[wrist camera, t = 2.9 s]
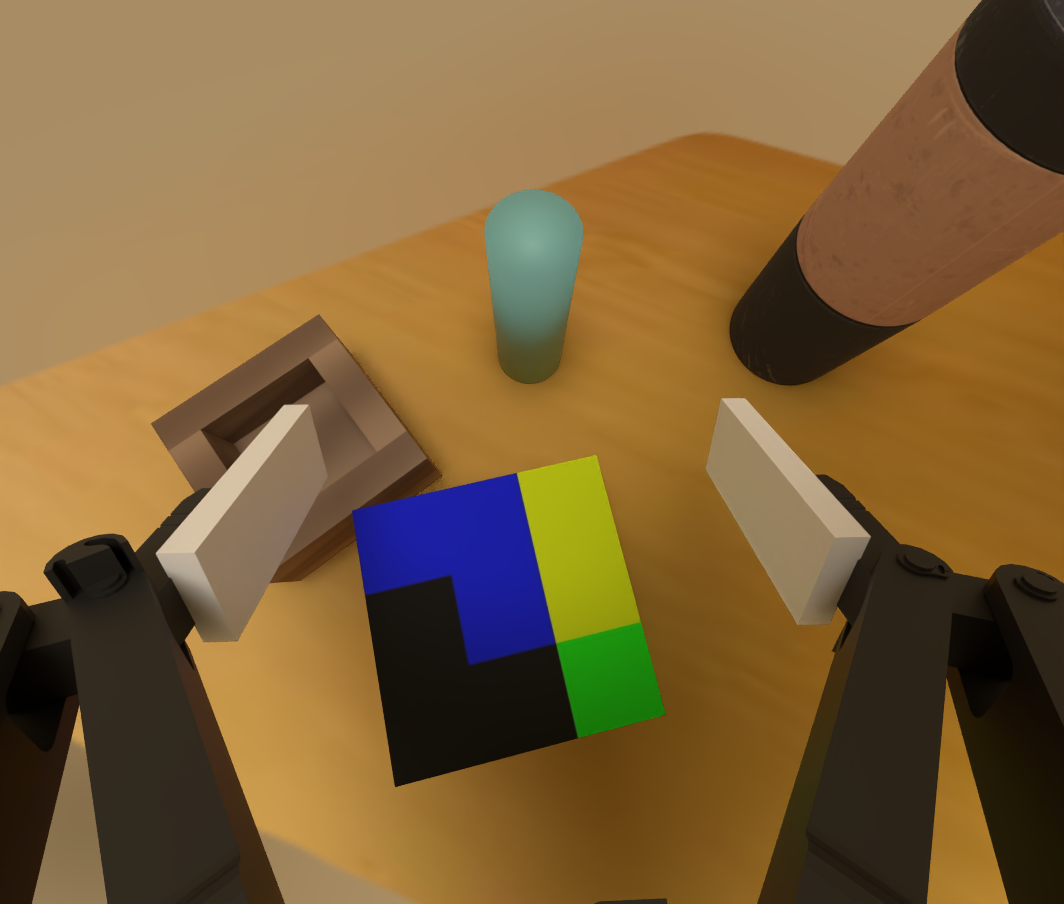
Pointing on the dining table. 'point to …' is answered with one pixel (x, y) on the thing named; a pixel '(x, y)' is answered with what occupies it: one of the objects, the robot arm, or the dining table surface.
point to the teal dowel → (532, 279)
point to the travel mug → (922, 200)
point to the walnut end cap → (341, 425)
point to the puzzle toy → (501, 619)
